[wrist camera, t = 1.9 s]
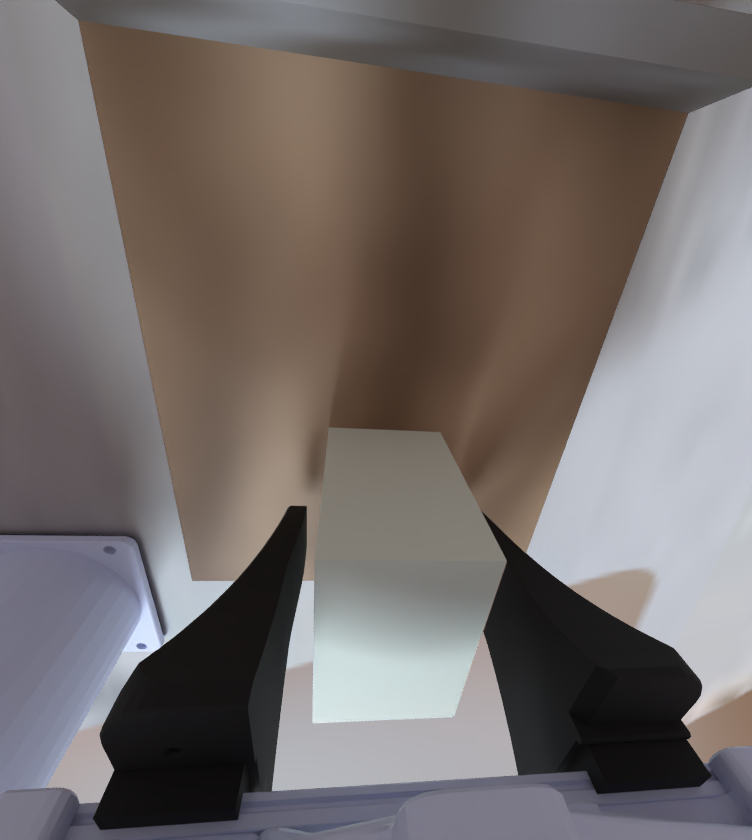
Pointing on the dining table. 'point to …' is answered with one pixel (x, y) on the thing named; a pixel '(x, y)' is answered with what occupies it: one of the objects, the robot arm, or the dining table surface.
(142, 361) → the dining table surface
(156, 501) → the dining table surface
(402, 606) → the sage box
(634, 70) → the shelf board
